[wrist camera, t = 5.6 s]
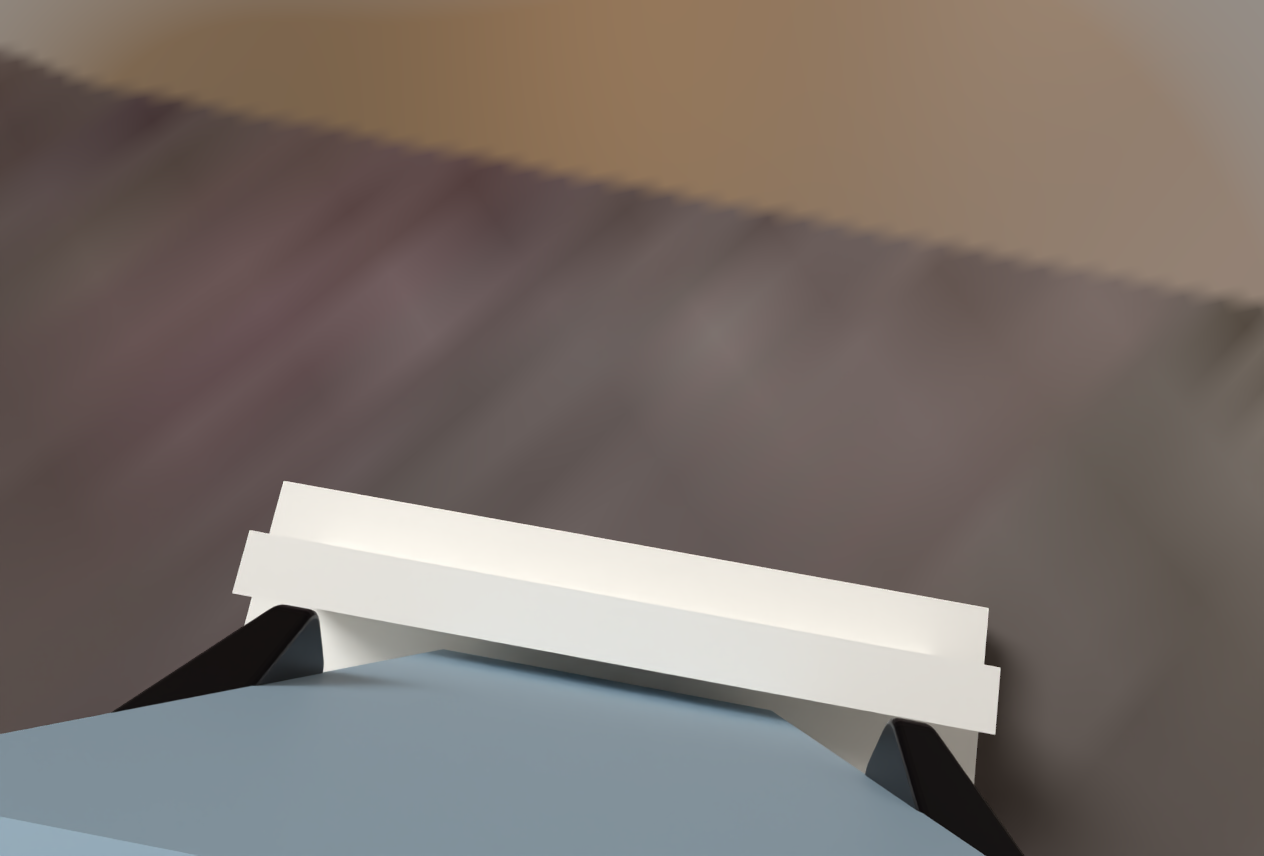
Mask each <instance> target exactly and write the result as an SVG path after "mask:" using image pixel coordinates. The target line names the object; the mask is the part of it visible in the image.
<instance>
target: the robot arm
mask: <svg viewBox="0 0 1264 856" xmlns="http://www.w3.org/2000/svg"><path fill="white" fill-rule="evenodd" d="M323 669H324V657H323V648H322V638H321V629H320V620H319V616H318V614H317V613H316V612H315V611H314V610H312V609H308V608H302V607H297V606H291V605H285V604H281V605H277V606H274V607H272V608H270V609H269V610H267V611H266V612H264V613H263V614H261V615H259V616H258V617H256V618H255V619H253V620H252V621H250V622H249V623H247V624H246V625H244V626H243V627H241V628H240V629H238V630H237V631H235V632H233V633H232V634H230V635H229V636H227V637H226V638H224V639H223V640H221V641H220V642H218V643H217V644H215V645H214V646H212V647H211V648H209V649H207V650H206V651H204V652H203V653H201V654H200V655H198V656H197V657H195V658H194V659H192V660H191V661H189V662H188V663H186V664H185V665H183V666H182V667H180V668H178V669H177V670H175V671H174V672H172V673H171V674H169V675H168V676H166V677H165V678H163V679H162V680H160V681H159V682H157V683H156V684H154V685H152V686H151V687H149V688H148V689H146V690H145V691H143V692H142V693H140V694H139V695H137V696H136V697H134V698H133V699H131V700H130V701H128V702H127V703H125V704H123V705H122V706H120V707H119V708H117V709H116V710H114V711H113V712H111V713H114V712H119V711H124V710H129V709H135V708H140V707H145V706H150V705H155V704H161V703H166V702H171V701H176V700H181V699H187V698H192V697H197V696H202V695H207V694H213V693H218V692H223V691H228V690H233V689H239V688H244V687H249V686H259V685H264V684H269V683H275V682H280V681H285V680H290V679H295V678H300V677H305V676H310V675H316V674H321V673H323ZM865 776H867V777H868V778H870V779H871V780H873V781H874V782H876V783H877V784H879V785H880V786H882V787H883V788H884V789H886V790H887V791H889V792H890V793H892V794H893V795H895V796H896V797H898V798H899V799H901V800H902V801H904V802H905V803H906V804H908V805H909V806H911V807H912V808H914V809H915V810H917V811H919V812H921V813H923V814H925V815H926V816H927V817H929V818H930V819H932V820H933V821H935V822H936V823H938V824H939V825H941V826H942V827H944V828H945V829H947V830H948V831H950V832H951V833H953V834H954V835H956V836H957V837H958V838H960V839H961V840H963V841H964V842H966V843H967V844H969V845H970V846H972V847H973V848H975V849H976V850H978V851H979V852H981V853H982V854H984V855H985V856H1024V854H1023V853H1022V852H1021V850H1020V849H1019V847H1018V846H1017V845H1016V843H1015V842H1014V840H1013V839H1012V838H1011V836H1010V835H1009V833H1008V832H1007V830H1006V829H1005V828H1004V826H1003V825H1002V823H1001V822H1000V821H999V819H998V818H997V816H996V815H995V814H994V812H993V811H992V809H991V808H990V806H989V805H988V804H987V802H986V801H985V799H984V798H983V797H982V795H981V794H980V792H979V791H978V789H977V788H976V787H975V785H974V784H973V782H972V781H971V780H970V778H969V777H968V775H967V774H966V773H965V771H964V770H963V768H962V767H961V765H960V764H959V763H958V761H957V760H956V758H955V757H954V756H953V754H952V753H951V751H950V750H949V749H948V747H947V746H946V744H945V743H944V741H943V740H942V739H941V737H940V736H939V734H938V733H937V732H936V730H935V729H934V728H933V727H931V726H930V725H929V724H926V723H923V722H918V721H913V720H907V719H902V718H892V719H890V720H889V721H888V722H887V723H886V725H885V727H884V729H883V731H882V733H881V736H880V738H879V740H878V742H877V744H876V747H875V749H874V751H873V753H872V755H871V758H870V760H869V762H868V765H867V768H866V772H865Z"/></svg>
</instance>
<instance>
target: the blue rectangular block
mask: <svg viewBox="0 0 1264 856" xmlns="http://www.w3.org/2000/svg"><path fill="white" fill-rule="evenodd" d="M0 856H985V855H984V854H982V853H981V852H979V851H978V850H976V849H975V848H973V847H972V846H970V845H969V844H967V843H966V842H964V841H963V840H961V839H960V838H958V837H957V836H956V835H954V834H953V833H951V832H950V831H948V830H947V829H945V828H944V827H942V826H941V825H939V824H938V823H936V822H935V821H933V820H932V819H930V818H929V817H927V816H926V815H925V814H923V813H921V812H919V811H917V810H915V809H914V808H912V807H911V806H909V805H908V804H906V803H905V802H904V801H902V800H901V799H899V798H898V797H896V796H895V795H893V794H892V793H890V792H889V791H887V790H886V789H884V788H883V787H882V786H880V785H879V784H877V783H876V782H874V781H873V780H871V779H870V778H868V777H867V776H865V774H864V773H863V772H861V771H860V770H858V769H857V768H855V767H854V766H852V765H851V764H849V763H848V762H846V761H845V760H843V759H842V758H840V757H839V756H838V755H836V754H835V753H833V752H832V751H830V750H829V749H827V748H826V747H824V746H823V745H821V744H820V743H818V742H817V741H815V740H814V739H812V738H811V737H810V736H808V735H807V734H805V733H804V732H802V731H801V730H799V729H798V728H796V727H795V726H793V725H792V724H790V723H789V722H787V721H786V720H784V719H783V718H781V717H780V716H779V715H777V714H776V713H774V712H773V711H771V710H767V709H762V708H756V707H751V706H746V705H740V704H735V703H730V702H724V701H719V700H713V699H708V698H703V697H697V696H692V695H687V694H681V693H676V692H671V691H665V690H660V689H654V688H649V687H644V686H638V685H633V684H628V683H622V682H617V681H612V680H606V679H601V678H595V677H590V676H585V675H579V674H574V673H569V672H563V671H558V670H552V669H547V668H542V667H536V666H531V665H526V664H520V663H515V662H510V661H504V660H499V659H493V658H488V657H483V656H477V655H472V654H467V653H461V652H456V651H450V650H445V649H442V650H436V651H431V652H426V653H421V654H416V655H410V656H405V657H400V658H395V659H389V660H384V661H379V662H374V663H369V664H363V665H358V666H353V667H348V668H343V669H337V670H332V671H327V672H323V673H321V674H316V675H310V676H305V677H300V678H295V679H290V680H285V681H280V682H275V683H269V684H264V685H259V686H249V687H244V688H239V689H233V690H228V691H223V692H218V693H213V694H207V695H202V696H197V697H192V698H187V699H181V700H176V701H171V702H166V703H161V704H155V705H150V706H145V707H140V708H135V709H129V710H124V711H119V712H114V713H109V714H103V715H98V716H93V717H88V718H83V719H77V720H72V721H67V722H62V723H57V724H51V725H46V726H41V727H36V728H31V729H25V730H20V731H15V732H10V733H5V734H0Z"/></svg>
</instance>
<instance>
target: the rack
mask: <svg viewBox="0 0 1264 856" xmlns="http://www.w3.org/2000/svg"><path fill="white" fill-rule="evenodd" d="M232 593H235V594H240V595H245V596H251V597H252V599H251V603H250V607H249V610H248V614H247V618H246V621H245V625H246V624H247V623H249V622H250V621H252V620H253V619H255V618H256V617H258V616H259V615H261V614H263V613H264V612H266V611H267V610H269V609H270V608H272V607H274V606H277V605H281V604H285V605H291V606H297V607H302V608H308V609H312V610H314V611H315V612H316V613H317V614H318V616H319V620H320V629H321V638H322V648H323V657H324V669H323V672H327V671H332V670H337V669H343V668H348V667H353V666H358V665H363V664H369V663H374V662H379V661H384V660H389V659H395V658H400V657H405V656H410V655H416V654H421V653H426V652H431V651H436V650H442V649H445V650H450V651H456V652H461V653H467V654H472V655H477V656H483V657H488V658H493V659H499V660H504V661H510V662H515V663H520V664H526V665H531V666H536V667H542V668H547V669H552V670H558V671H563V672H569V673H574V674H579V675H585V676H590V677H595V678H601V679H606V680H612V681H617V682H622V683H628V684H633V685H638V686H644V687H649V688H654V689H660V690H665V691H671V692H676V693H681V694H687V695H692V696H697V697H703V698H708V699H713V700H719V701H724V702H730V703H735V704H740V705H746V706H751V707H756V708H762V709H767V710H771V711H773V712H774V713H776V714H777V715H779V716H780V717H781V718H783V719H784V720H786V721H787V722H789V723H790V724H792V725H793V726H795V727H796V728H798V729H799V730H801V731H802V732H804V733H805V734H807V735H808V736H810V737H811V738H812V739H814V740H815V741H817V742H818V743H820V744H821V745H823V746H824V747H826V748H827V749H829V750H830V751H832V752H833V753H835V754H836V755H838V756H839V757H840V758H842V759H843V760H845V761H846V762H848V763H849V764H851V765H852V766H854V767H855V768H857V769H858V770H860V771H861V772H863V773H864V774H865V772H866V768H867V765H868V762H869V760H870V758H871V755H872V753H873V751H874V749H875V747H876V744H877V742H878V740H879V738H880V736H881V733H882V731H883V729H884V727H885V725H886V723H887V722H888V721H889V720H890V719H892V718H902V719H907V720H913V721H918V722H923V723H926V724H929V725H930V726H931V727H933V728H934V729H935V730H936V732H937V733H938V734H939V736H940V737H941V739H942V740H943V741H944V743H945V744H946V746H947V747H948V749H949V750H950V751H951V753H952V754H953V756H954V757H955V758H956V760H957V761H958V763H959V764H960V765H961V767H962V768H963V770H964V771H965V773H966V774H967V775H968V777H969V778H970V780H971V781H972V782H973V784H974V778H975V766H976V755H977V743H978V732H983V733H988V734H994V735H995V731H996V719H997V706H998V694H999V681H1000V669H1001V668H1000V667H995V666H989V665H984V659H985V647H986V635H987V624H988V612H989V608H985V607H979V606H974V605H968V604H963V603H957V602H952V601H946V600H941V599H935V598H930V597H924V596H919V595H913V594H907V593H902V592H896V591H891V590H885V589H880V588H874V587H869V586H863V585H858V584H852V583H847V582H841V581H835V580H830V579H824V578H819V577H813V576H808V575H802V574H797V573H791V572H786V571H780V570H775V569H769V568H763V567H758V566H752V565H747V564H741V563H736V562H730V561H725V560H719V559H714V558H708V557H703V556H697V555H691V554H686V553H680V552H675V551H669V550H664V549H658V548H653V547H647V546H642V545H636V544H631V543H625V542H619V541H614V540H608V539H603V538H597V537H592V536H586V535H581V534H575V533H570V532H564V531H559V530H553V529H547V528H542V527H536V526H531V525H525V524H520V523H514V522H509V521H503V520H498V519H492V518H487V517H481V516H475V515H470V514H464V513H459V512H453V511H448V510H442V509H437V508H431V507H426V506H420V505H415V504H409V503H403V502H398V501H392V500H387V499H381V498H376V497H370V496H365V495H359V494H354V493H348V492H342V491H337V490H331V489H326V488H320V487H315V486H309V485H304V484H298V483H293V482H287V481H284V482H283V486H282V489H281V493H280V497H279V500H278V504H277V508H276V511H275V515H274V519H273V522H272V526H271V530H270V533H269V534H267V533H262V532H257V531H251V530H250V531H249V535H248V539H247V542H246V546H245V549H244V553H243V557H242V560H241V564H240V567H239V571H238V574H237V578H236V582H235V585H234V589H233V592H232Z"/></svg>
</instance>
